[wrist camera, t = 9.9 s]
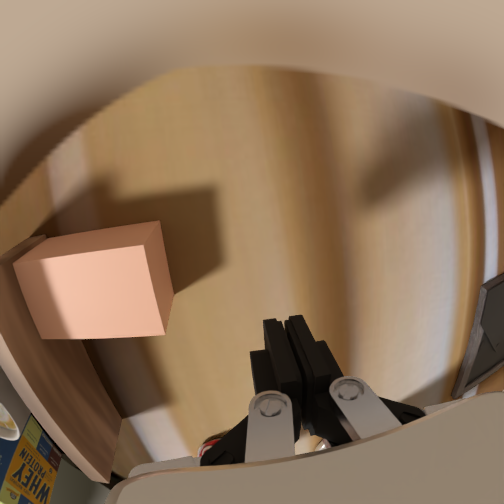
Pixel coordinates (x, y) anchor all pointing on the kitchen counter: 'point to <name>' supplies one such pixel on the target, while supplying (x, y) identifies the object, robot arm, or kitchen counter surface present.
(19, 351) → the walnut board
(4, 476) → the protein box
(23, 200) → the kitchen counter surface
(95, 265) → the brick
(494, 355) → the picture frame
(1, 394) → the coffee mug
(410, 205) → the kitchen counter surface
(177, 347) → the kitchen counter surface
